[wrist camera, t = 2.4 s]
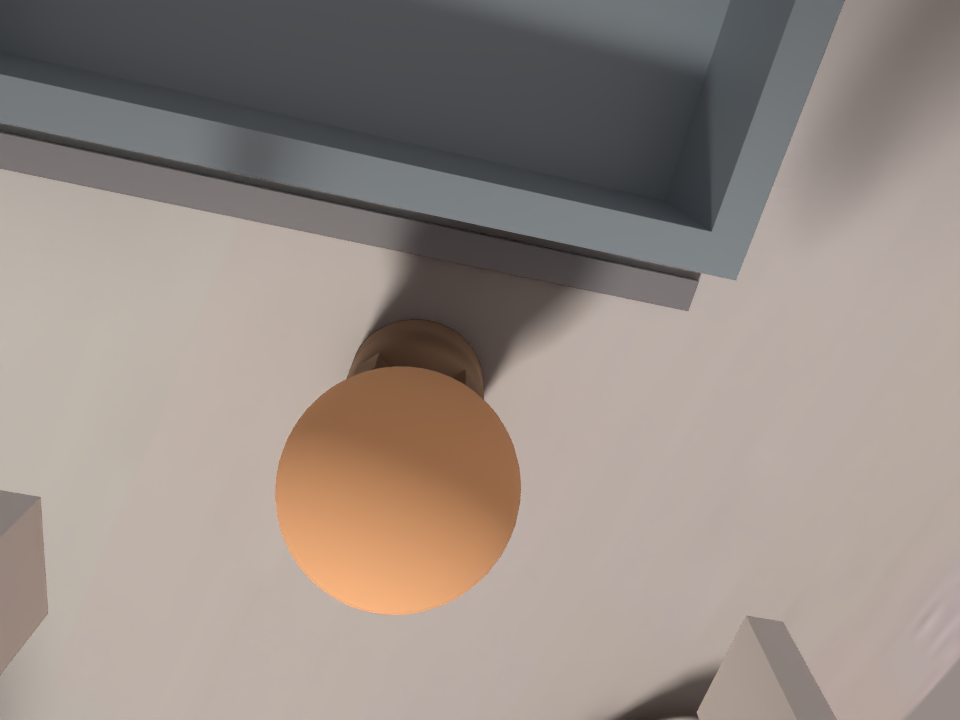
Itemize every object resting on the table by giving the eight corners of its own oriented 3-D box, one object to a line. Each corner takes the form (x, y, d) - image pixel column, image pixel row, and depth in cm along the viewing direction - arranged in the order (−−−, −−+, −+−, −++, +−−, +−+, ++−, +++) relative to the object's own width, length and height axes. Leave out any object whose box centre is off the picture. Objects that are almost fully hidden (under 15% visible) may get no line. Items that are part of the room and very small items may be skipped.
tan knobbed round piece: (401, 458, 23) (391, 519, 20) (323, 363, 22) (299, 413, 19) (507, 398, 22) (514, 451, 19) (434, 294, 21) (428, 333, 18)
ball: (295, 493, 20) (231, 652, 15) (318, 311, 18) (253, 420, 12) (487, 525, 21) (495, 689, 15) (534, 353, 18) (564, 475, 13)
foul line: (-114, 143, 19) (-120, 143, 18) (-119, 105, 18) (-125, 106, 18) (686, 308, 21) (687, 311, 21) (697, 279, 21) (699, 281, 21)
